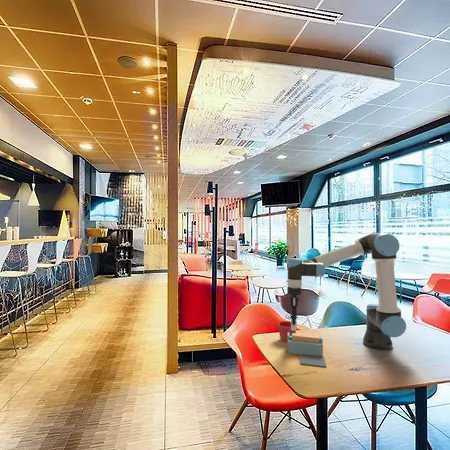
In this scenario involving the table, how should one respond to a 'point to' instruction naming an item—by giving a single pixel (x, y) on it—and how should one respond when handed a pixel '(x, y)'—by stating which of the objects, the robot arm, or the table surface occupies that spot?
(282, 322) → the flower pot
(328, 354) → the table surface
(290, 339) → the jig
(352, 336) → the table surface
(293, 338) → the bar
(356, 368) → the table surface
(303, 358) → the mat
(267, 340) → the table surface
